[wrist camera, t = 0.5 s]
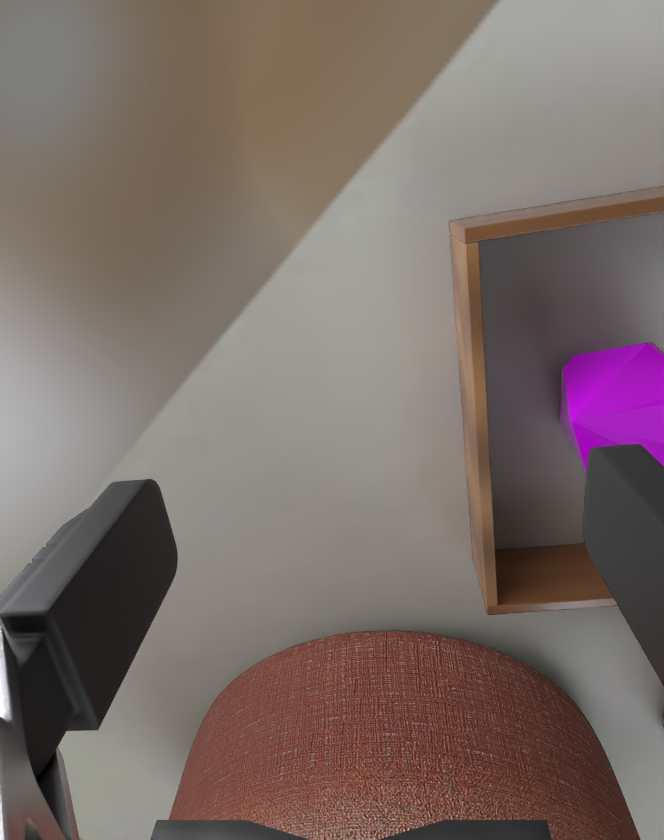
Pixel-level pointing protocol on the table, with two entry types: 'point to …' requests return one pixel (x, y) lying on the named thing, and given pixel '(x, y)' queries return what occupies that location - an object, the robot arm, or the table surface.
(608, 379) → the crystal
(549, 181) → the table surface
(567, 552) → the wooden box frame
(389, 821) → the planter
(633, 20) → the table surface
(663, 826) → the table surface
